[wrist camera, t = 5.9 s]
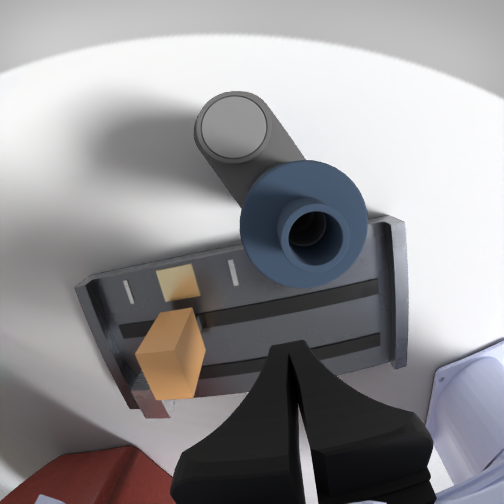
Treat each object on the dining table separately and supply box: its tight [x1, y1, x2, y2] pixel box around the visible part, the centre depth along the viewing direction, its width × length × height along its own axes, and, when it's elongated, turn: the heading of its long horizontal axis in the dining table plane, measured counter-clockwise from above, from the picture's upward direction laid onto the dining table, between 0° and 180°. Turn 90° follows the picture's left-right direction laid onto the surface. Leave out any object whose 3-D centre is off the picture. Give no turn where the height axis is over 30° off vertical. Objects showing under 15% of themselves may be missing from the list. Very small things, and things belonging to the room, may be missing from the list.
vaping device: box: [194, 91, 368, 288], centre depth 10 cm, size 3×5×12 cm, turn 34°
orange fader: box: [135, 308, 206, 400], centre depth 15 cm, size 3×2×5 cm
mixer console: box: [74, 215, 408, 418], centre depth 16 cm, size 9×18×4 cm, turn 102°
